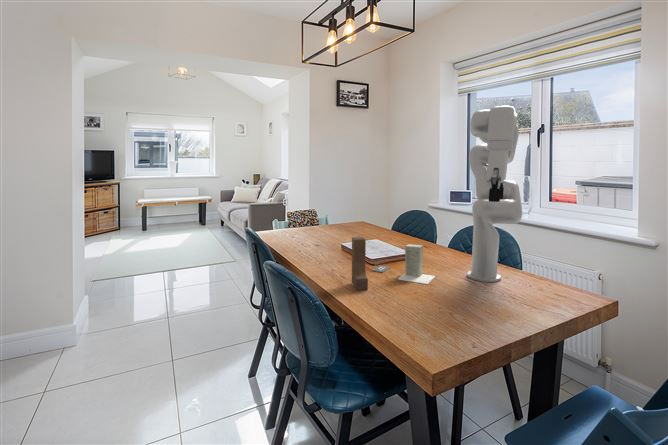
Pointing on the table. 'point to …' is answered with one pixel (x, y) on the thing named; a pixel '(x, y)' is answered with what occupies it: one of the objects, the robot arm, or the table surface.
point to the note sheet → (417, 278)
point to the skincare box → (414, 260)
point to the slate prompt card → (381, 269)
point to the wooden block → (359, 264)
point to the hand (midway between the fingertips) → (495, 200)
